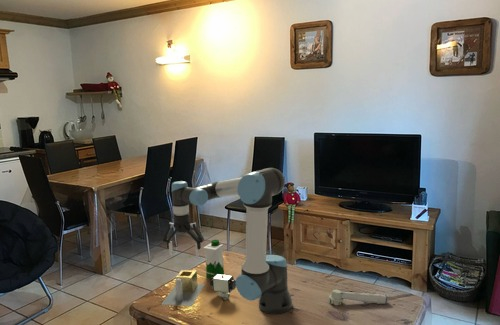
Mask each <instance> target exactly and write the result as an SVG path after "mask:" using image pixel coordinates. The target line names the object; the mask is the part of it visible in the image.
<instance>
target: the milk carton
mask: <svg viewBox="0 0 500 325" xmlns="http://www.w3.org/2000/svg"><path fill="white" fill-rule="evenodd" d="M203 251H204V258H205V269H206V270H205V277H206V278H207V279H211V278H212V277H214V276H215V275H216V274H220V275H224V274H225V269H224V254H223V251H224V244H221V243H220V240H219V239H212V240H211V242H210V243H208V244H207V245H205V246H203Z"/></svg>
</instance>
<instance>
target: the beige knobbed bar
mask: <svg viewBox="0 0 500 325" xmlns="http://www.w3.org/2000/svg"><path fill="white" fill-rule="evenodd" d="M328 299H329V301H328V302H329V304H331V305H334V306H338V307H339V306H340V305H342V304H343V301H344V300H349V301H357V302H363V303H370V304H371V303H372V304H377V305H379V304H380V305H387V304H388V296H387V294H380V293H368V292H350V291H341V290H339V289H333V290H332V291H331V294H330V295H328Z"/></svg>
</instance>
